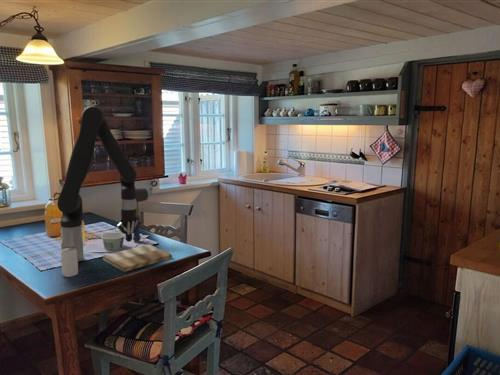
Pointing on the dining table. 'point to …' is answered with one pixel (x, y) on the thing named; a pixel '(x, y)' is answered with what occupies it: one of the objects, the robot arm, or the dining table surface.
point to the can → (69, 261)
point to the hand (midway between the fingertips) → (129, 241)
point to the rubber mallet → (140, 196)
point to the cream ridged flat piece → (129, 253)
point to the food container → (113, 240)
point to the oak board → (142, 260)
